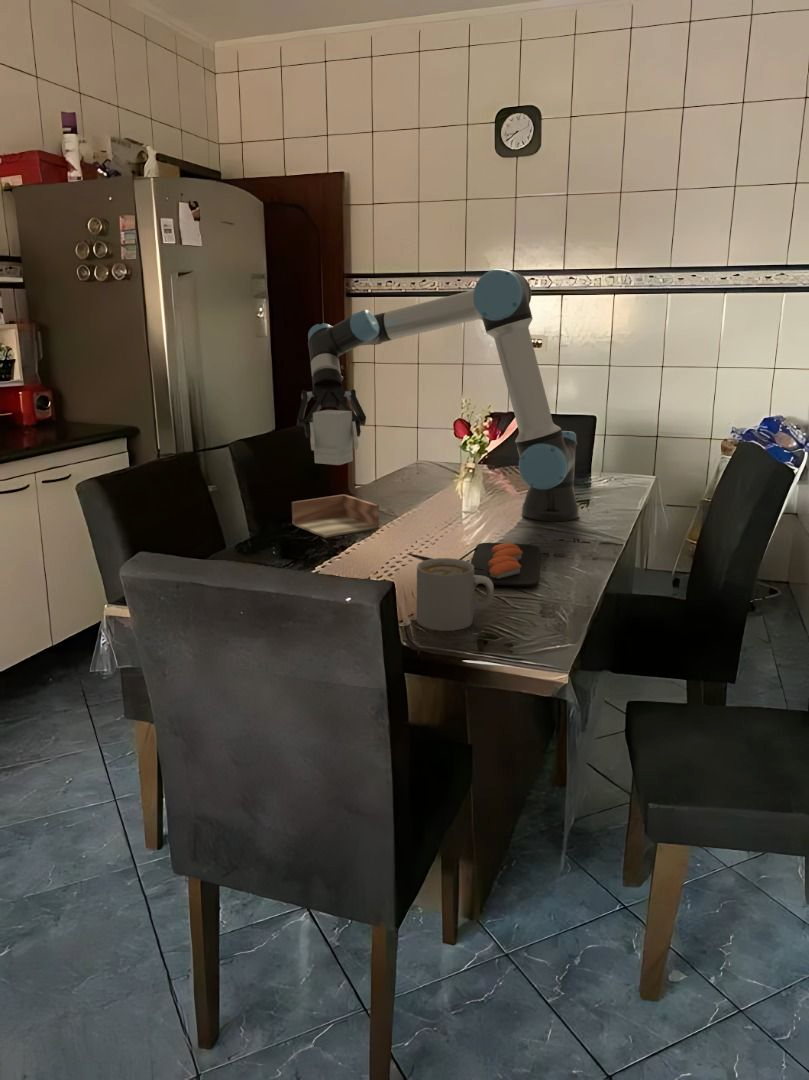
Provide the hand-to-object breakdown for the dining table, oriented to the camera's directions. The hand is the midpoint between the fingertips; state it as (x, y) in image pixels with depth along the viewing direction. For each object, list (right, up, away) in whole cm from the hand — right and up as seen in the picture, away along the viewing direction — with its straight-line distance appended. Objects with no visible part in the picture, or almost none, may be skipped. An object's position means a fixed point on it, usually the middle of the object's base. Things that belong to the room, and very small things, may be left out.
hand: (334, 446), depth 196 cm
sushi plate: (+31, -29, -23) cm, 48 cm away
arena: (-1, -19, +9) cm, 21 cm away
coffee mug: (+26, -37, -55) cm, 71 cm away
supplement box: (-1, -4, +4) cm, 6 cm away
